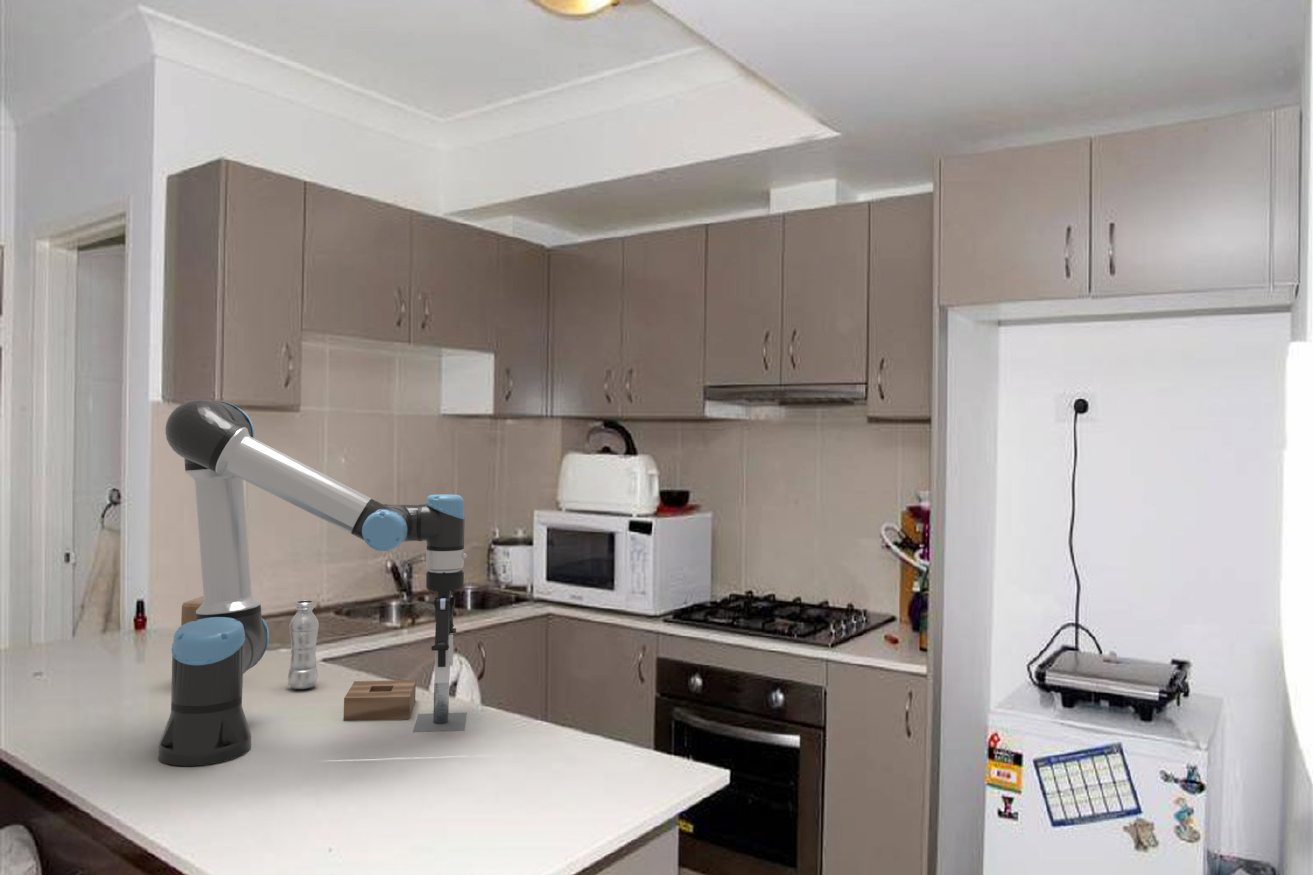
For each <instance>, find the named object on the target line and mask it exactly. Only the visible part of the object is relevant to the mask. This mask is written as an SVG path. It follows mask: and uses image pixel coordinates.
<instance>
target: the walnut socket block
mask: <svg viewBox="0 0 1313 875" xmlns="http://www.w3.org/2000/svg"><path fill="white" fill-rule="evenodd" d="M416 684H417V680H416V679H408V680H406V679H404V680H402V679H399V680H354V681H353V683H352V684H351V686H350V688H349V689H348V690H347V693H346V694H345V696H344V697H343V721H344V722H347V721H348V722H349V721H350V722H351V721H352V722H353V721H355V722H357V721H390V720H391V721H393V720H398V721H399V720H410V718H411V715H412V712H413V709H414V706H415V703H416V686H417V685H416Z"/></svg>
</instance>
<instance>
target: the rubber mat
mask: <svg viewBox="0 0 1313 875" xmlns="http://www.w3.org/2000/svg"><path fill="white" fill-rule="evenodd" d="M467 713H468V712H448V723H445V724H434V723H433V713H418V714H417V717H416V720H415V724H414V726H413V729H412V733H433V732H435V733H439V732H441V733H442V732H465V728H466V720H467V715H468V714H467Z"/></svg>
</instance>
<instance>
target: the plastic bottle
mask: <svg viewBox="0 0 1313 875" xmlns="http://www.w3.org/2000/svg"><path fill="white" fill-rule="evenodd" d="M313 610H314V600H311V599H309V600H307V599H306V600H305V599H303V600H297V601H296V607H295V611H296V613H295V614H294V616H293V617H292V618H291V620H290V623H289V627H288V628H289V635H290V636H289V637H290V648H291V650H290V654H291V655H290V663H289V664H290V665H289V669H288V674H287V684H288V685H289V687H290V688H291V689H294V690H305V689H312V688H313V687H315V686H316V684H317V682H318V679H319V672H318V667H317V660H316V659H317V656H316V651H317V650H316V649H317V648H316V647H317V639H318V633H319V627H320V626H319V625H320V622H319V619H318V618H317V617H316V615H315V614H314V612H313Z"/></svg>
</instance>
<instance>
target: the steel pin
mask: <svg viewBox="0 0 1313 875" xmlns="http://www.w3.org/2000/svg"><path fill="white" fill-rule="evenodd" d="M450 670H451V666H450V662H449V678H450V673H451V671H450ZM433 682H434V684H433V685H434V686H433V690H434V691H433V723H434V724H445V723H448V713H450V712H449V710H450V709H449V708H450V706H449V705H450V704H449V703H450V682H449V683H435V676H434V680H433Z"/></svg>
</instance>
